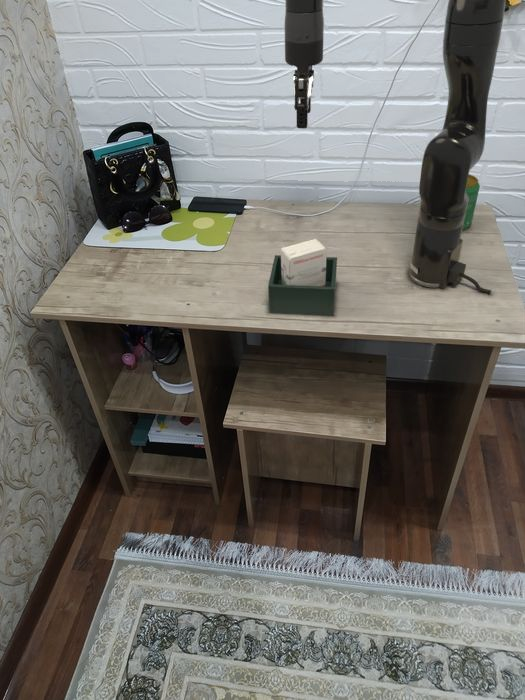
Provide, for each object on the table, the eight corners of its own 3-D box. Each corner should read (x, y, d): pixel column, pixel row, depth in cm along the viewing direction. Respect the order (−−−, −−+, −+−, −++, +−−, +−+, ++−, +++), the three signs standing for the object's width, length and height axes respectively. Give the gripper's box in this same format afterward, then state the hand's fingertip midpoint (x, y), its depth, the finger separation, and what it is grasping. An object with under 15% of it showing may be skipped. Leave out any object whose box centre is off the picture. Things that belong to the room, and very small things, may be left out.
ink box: (316, 282, 127) (317, 236, 119) (326, 294, 124) (328, 248, 116) (280, 293, 125) (279, 246, 117) (290, 305, 121) (289, 258, 113)
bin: (335, 283, 128) (337, 257, 124) (333, 316, 120) (334, 289, 115) (275, 281, 130) (274, 255, 125) (269, 312, 122) (268, 286, 117)
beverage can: (462, 214, 148) (471, 170, 140) (476, 230, 142) (486, 185, 134) (433, 218, 147) (440, 174, 139) (445, 234, 141) (454, 189, 133)
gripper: (321, 45, 105) (319, 133, 116) (325, 25, 115) (323, 107, 126) (280, 46, 106) (282, 133, 117) (288, 26, 116) (289, 107, 127)
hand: (303, 119), depth 121 cm, fingers open, 8 cm apart
